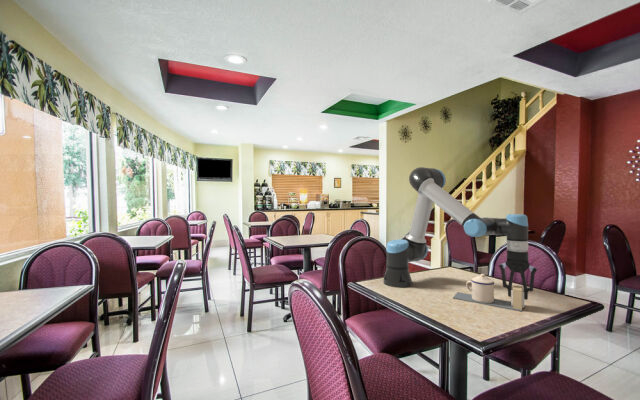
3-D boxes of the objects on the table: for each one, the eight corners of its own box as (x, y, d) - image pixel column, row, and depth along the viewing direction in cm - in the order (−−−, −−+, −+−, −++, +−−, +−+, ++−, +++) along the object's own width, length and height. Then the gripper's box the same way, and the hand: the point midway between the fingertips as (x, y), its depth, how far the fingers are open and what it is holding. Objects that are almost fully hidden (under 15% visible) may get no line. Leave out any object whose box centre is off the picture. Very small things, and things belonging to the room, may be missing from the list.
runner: (452, 298, 131) (452, 280, 131) (457, 292, 139) (457, 275, 139) (521, 311, 115) (521, 291, 115) (522, 304, 123) (522, 285, 123)
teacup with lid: (498, 301, 126) (498, 275, 126) (488, 305, 121) (488, 278, 121) (471, 293, 136) (471, 269, 136) (461, 297, 131) (461, 272, 131)
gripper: (494, 249, 122) (494, 304, 122) (541, 253, 112) (542, 312, 112) (496, 247, 128) (496, 299, 128) (541, 251, 118) (541, 307, 118)
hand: (517, 305), depth 120 cm, fingers closed on runner, 3 cm apart
